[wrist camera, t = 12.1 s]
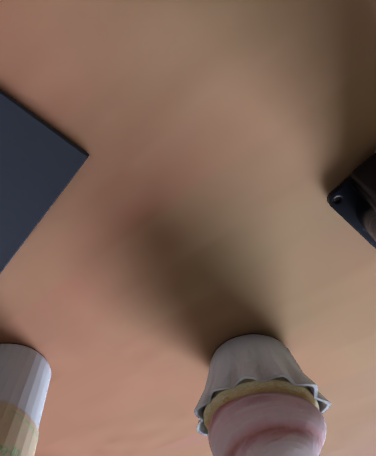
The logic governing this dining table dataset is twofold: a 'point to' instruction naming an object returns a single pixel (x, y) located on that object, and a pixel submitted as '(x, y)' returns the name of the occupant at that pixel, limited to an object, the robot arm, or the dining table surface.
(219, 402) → the cupcake
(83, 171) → the dining table surface
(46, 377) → the coffee cup
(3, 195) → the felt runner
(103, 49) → the dining table surface
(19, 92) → the dining table surface
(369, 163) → the robot arm
